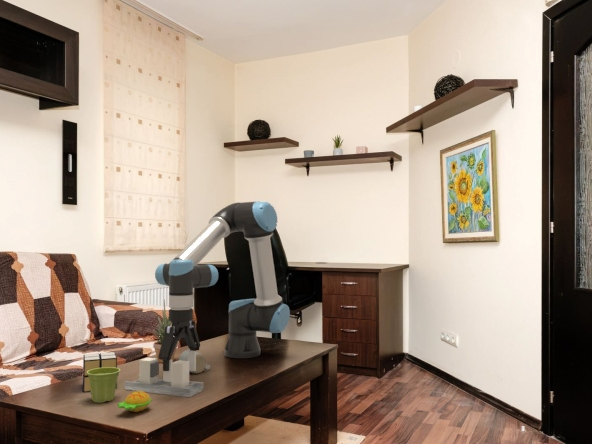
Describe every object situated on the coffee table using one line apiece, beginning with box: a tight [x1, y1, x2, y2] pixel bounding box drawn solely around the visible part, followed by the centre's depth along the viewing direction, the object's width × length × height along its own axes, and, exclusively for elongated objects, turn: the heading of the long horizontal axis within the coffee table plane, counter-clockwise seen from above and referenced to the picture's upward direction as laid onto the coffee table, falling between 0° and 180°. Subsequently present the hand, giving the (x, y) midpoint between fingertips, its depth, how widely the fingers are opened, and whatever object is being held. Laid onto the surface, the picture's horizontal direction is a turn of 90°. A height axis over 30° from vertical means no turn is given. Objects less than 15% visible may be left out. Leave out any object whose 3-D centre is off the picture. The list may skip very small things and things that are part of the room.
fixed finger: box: [138, 357, 160, 384], centre depth 163 cm, size 4×5×8 cm
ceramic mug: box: [178, 348, 211, 375], centre depth 185 cm, size 11×8×8 cm
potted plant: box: [152, 299, 179, 364], centre depth 202 cm, size 10×10×25 cm
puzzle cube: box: [82, 351, 118, 393], centre depth 165 cm, size 10×10×10 cm
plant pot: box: [87, 367, 121, 403], centre depth 151 cm, size 9×9×9 cm
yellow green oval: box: [116, 391, 152, 413], centre depth 140 cm, size 7×10×5 cm
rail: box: [124, 377, 204, 398], centre depth 161 cm, size 8×24×2 cm, turn 70°
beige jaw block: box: [171, 359, 190, 387], centre depth 160 cm, size 4×5×8 cm
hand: (180, 375), depth 159 cm, fingers open, 13 cm apart
